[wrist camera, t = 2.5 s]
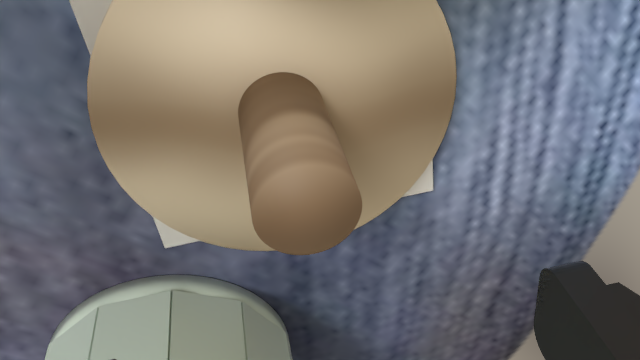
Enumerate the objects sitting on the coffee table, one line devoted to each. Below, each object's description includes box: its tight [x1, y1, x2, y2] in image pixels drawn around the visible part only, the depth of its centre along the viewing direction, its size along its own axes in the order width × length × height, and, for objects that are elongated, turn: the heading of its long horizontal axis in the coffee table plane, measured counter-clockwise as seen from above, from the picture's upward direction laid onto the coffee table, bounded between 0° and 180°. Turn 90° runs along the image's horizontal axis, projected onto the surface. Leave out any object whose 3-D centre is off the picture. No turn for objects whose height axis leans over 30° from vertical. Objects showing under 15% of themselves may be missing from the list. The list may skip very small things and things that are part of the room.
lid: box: [87, 0, 457, 255], centre depth 16 cm, size 11×11×6 cm
